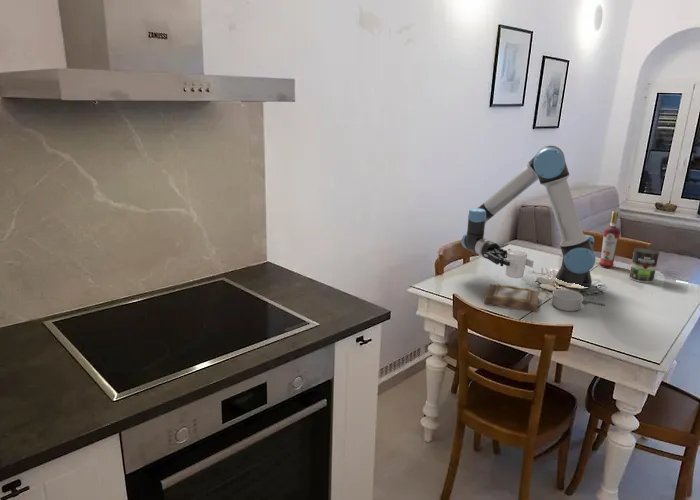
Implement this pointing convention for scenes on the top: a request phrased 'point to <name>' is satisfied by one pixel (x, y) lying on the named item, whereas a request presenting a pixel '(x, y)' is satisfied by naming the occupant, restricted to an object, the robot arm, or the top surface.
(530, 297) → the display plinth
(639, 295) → the top surface
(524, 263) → the white cup
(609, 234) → the liquor
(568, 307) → the saucepan
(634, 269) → the coffee can
